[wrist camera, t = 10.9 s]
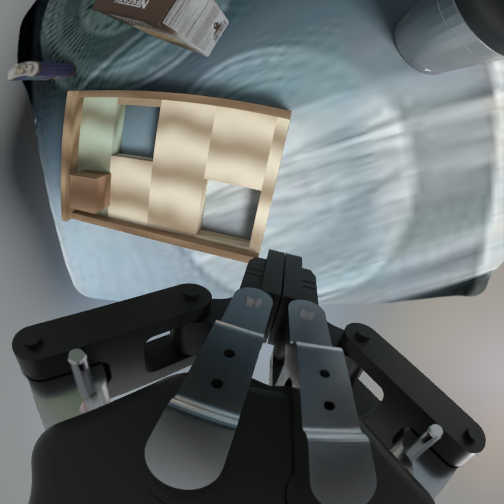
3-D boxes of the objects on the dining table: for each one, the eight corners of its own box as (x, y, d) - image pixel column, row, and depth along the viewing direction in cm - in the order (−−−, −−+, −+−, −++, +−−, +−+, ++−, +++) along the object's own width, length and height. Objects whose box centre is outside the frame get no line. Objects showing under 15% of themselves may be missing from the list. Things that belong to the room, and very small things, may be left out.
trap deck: (89, 91, 35) (67, 91, 30) (291, 112, 34) (291, 110, 29) (81, 209, 44) (61, 220, 39) (259, 252, 43) (254, 270, 38)
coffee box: (154, 39, 32) (87, 9, 17) (176, 3, 29) (119, -41, 14) (209, 58, 32) (157, 25, 18) (232, 21, 30) (195, -32, 15)
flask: (41, 81, 35) (-3, 82, 25) (44, 65, 34) (0, 64, 24) (75, 77, 35) (29, 75, 25) (78, 61, 33) (33, 55, 24)
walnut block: (85, 169, 38) (69, 174, 35) (111, 173, 38) (95, 178, 34) (85, 200, 40) (69, 207, 37) (109, 205, 40) (94, 213, 37)
